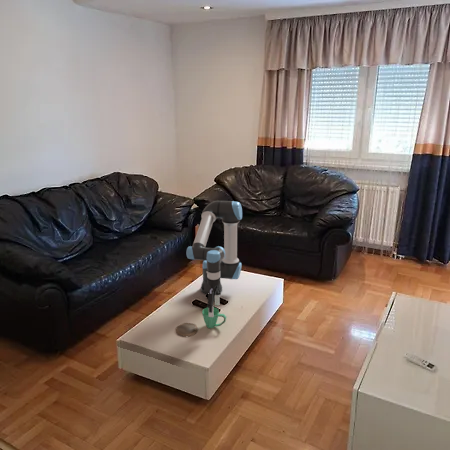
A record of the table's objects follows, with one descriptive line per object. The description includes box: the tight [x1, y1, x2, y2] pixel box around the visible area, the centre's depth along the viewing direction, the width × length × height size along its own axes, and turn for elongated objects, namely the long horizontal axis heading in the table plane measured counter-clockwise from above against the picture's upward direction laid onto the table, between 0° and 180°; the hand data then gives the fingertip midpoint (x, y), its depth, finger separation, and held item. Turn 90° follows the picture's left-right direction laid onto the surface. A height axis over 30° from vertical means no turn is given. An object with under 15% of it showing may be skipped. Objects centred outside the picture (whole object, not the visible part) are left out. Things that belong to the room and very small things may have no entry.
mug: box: [201, 306, 227, 329], centre depth 234 cm, size 15×10×10 cm
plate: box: [175, 322, 199, 338], centre depth 232 cm, size 13×13×1 cm
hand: (214, 310), depth 231 cm, fingers open, 13 cm apart
